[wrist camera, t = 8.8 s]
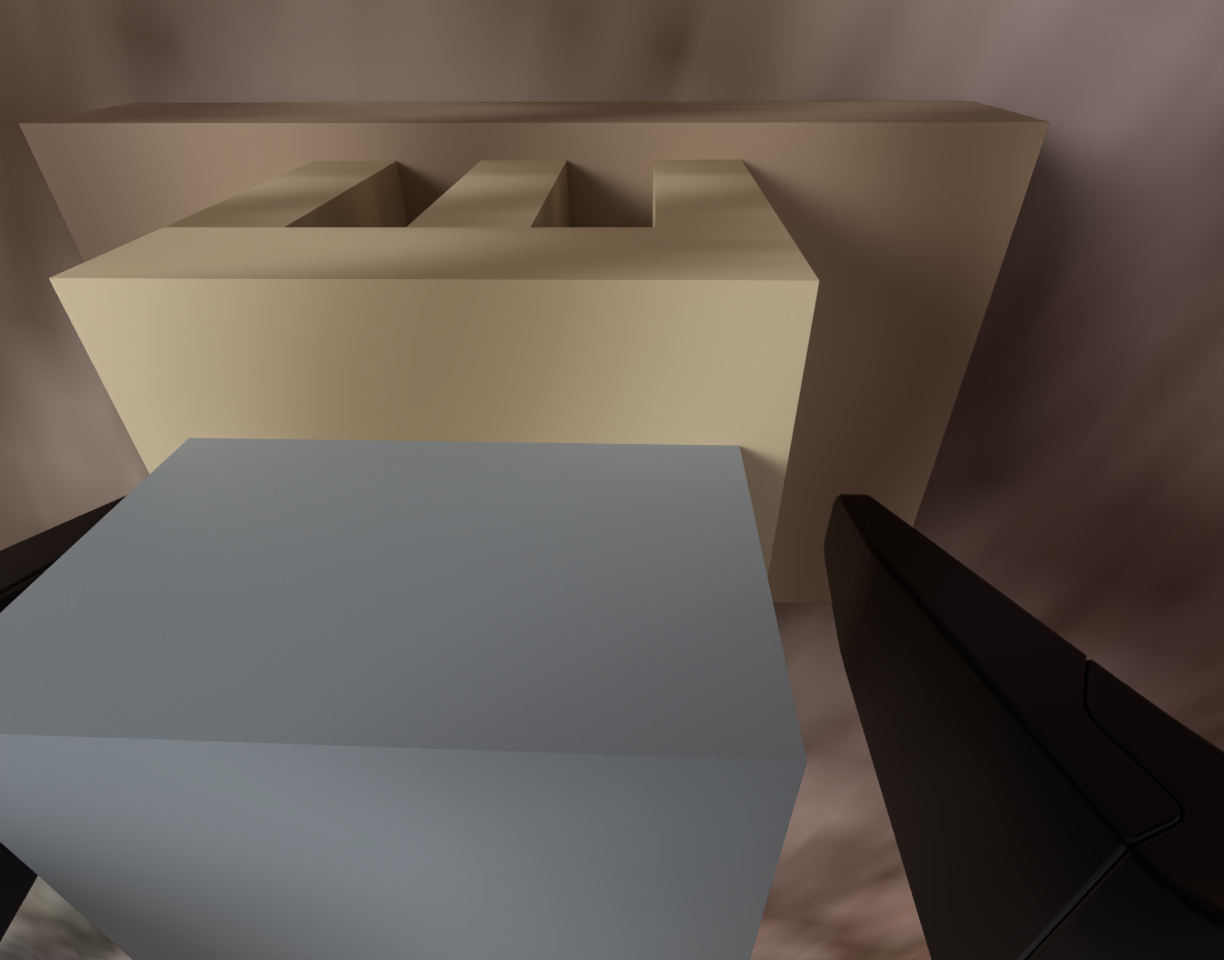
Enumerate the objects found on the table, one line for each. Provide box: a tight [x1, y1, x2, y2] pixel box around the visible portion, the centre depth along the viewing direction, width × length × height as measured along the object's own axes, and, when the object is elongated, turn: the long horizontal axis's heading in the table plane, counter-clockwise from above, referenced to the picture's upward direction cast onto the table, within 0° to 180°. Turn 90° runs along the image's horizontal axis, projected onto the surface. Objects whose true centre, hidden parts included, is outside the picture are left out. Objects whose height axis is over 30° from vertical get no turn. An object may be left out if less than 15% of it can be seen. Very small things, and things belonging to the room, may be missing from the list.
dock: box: [19, 101, 1050, 604], centre depth 12 cm, size 14×9×2 cm, turn 90°
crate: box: [0, 438, 807, 960], centre depth 6 cm, size 5×5×3 cm
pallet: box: [49, 159, 819, 577], centre depth 9 cm, size 6×8×5 cm
